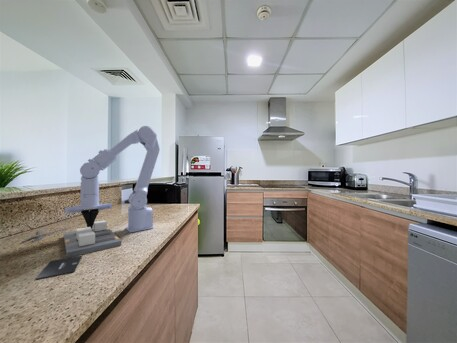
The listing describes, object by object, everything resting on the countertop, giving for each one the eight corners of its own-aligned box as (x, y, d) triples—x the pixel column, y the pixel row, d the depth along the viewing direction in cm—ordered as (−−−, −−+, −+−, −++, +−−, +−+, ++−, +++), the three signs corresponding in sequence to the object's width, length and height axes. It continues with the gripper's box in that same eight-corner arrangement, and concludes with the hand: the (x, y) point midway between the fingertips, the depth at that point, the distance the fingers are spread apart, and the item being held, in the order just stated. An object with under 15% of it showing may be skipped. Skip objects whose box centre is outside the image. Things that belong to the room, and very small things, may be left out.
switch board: (107, 229, 81) (107, 225, 81) (121, 245, 65) (121, 240, 65) (63, 237, 72) (63, 233, 72) (67, 257, 55) (67, 252, 55)
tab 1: (90, 235, 70) (90, 226, 70) (91, 237, 67) (91, 228, 67) (76, 237, 67) (76, 228, 67) (77, 240, 64) (77, 231, 64)
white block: (93, 240, 64) (93, 231, 64) (95, 243, 62) (95, 233, 62) (78, 243, 61) (78, 234, 61) (79, 246, 59) (79, 236, 59)
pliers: (71, 224, 88) (57, 237, 70) (71, 226, 88) (57, 240, 70) (42, 227, 83) (20, 242, 65) (42, 229, 83) (20, 244, 65)
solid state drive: (82, 257, 56) (82, 255, 56) (74, 274, 47) (74, 271, 47) (50, 263, 53) (50, 260, 53) (35, 281, 44) (35, 278, 44)
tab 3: (105, 227, 79) (105, 220, 79) (106, 229, 76) (106, 221, 76) (93, 229, 76) (93, 221, 76) (94, 231, 74) (94, 223, 74)
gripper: (109, 192, 82) (109, 223, 82) (64, 194, 72) (64, 230, 72) (113, 193, 77) (113, 227, 77) (65, 196, 67) (65, 235, 67)
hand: (89, 229), depth 74 cm, fingers closed
